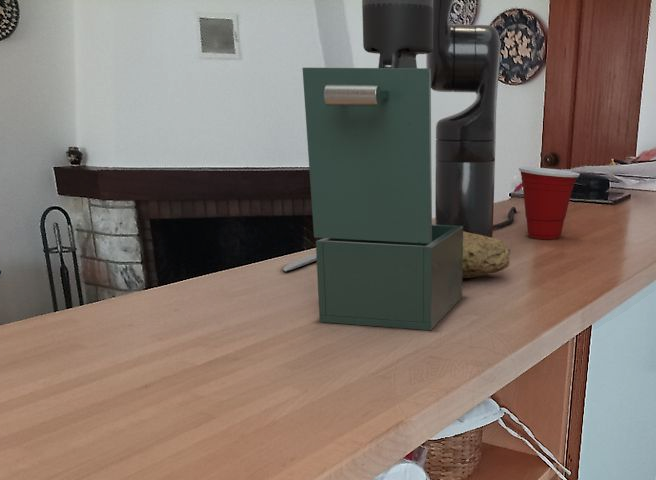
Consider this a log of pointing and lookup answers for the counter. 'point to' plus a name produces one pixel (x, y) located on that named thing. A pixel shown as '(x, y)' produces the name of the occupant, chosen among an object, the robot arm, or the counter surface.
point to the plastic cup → (546, 200)
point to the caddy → (390, 280)
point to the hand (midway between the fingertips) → (399, 170)
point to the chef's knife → (300, 262)
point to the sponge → (483, 255)
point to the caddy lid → (370, 153)
